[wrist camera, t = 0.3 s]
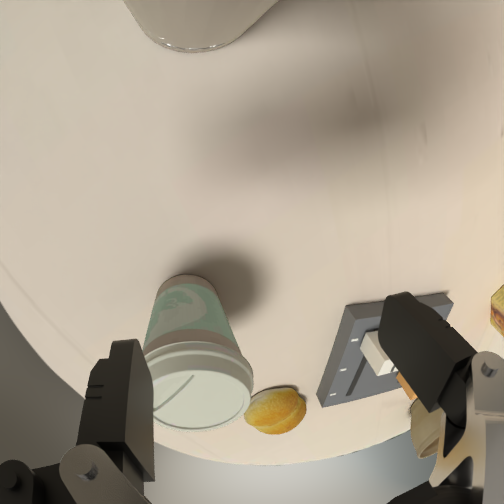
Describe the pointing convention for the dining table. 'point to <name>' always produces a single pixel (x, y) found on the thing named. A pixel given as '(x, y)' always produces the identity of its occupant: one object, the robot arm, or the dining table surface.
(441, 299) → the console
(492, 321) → the candy box
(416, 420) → the planter bowl
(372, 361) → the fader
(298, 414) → the bread roll
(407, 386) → the orange white-striped block
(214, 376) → the coffee cup
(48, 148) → the dining table surface
